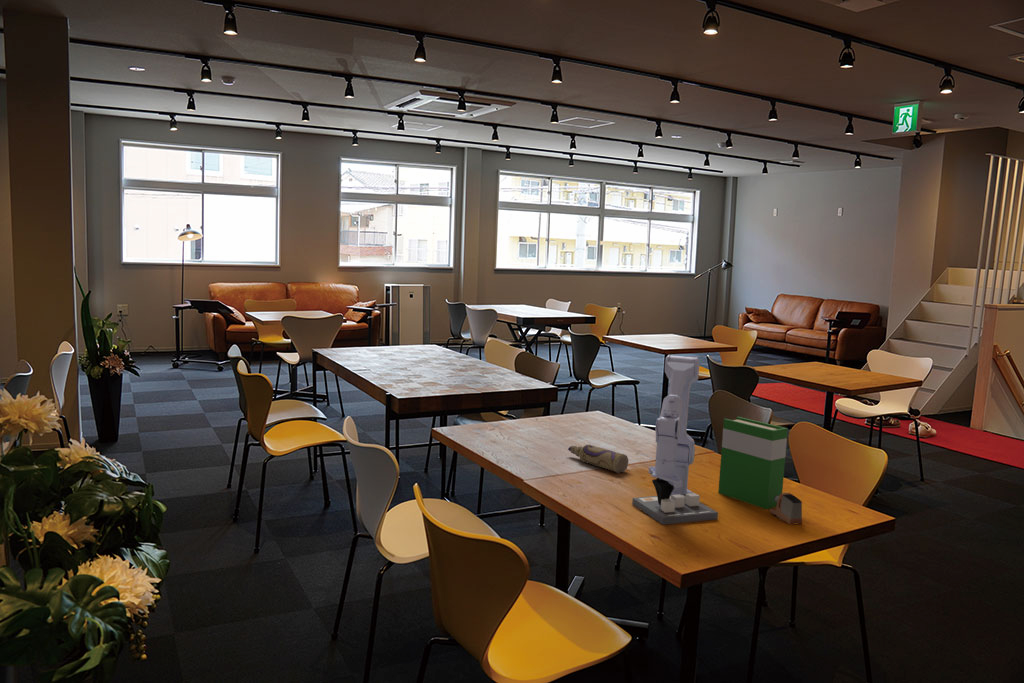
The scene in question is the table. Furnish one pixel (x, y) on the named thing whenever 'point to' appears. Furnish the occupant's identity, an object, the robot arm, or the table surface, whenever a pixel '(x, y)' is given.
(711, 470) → the table surface
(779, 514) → the electronic device
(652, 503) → the switch board
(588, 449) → the decorative bottle
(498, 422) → the table surface
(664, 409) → the robot arm
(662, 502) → the tab
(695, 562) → the table surface
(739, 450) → the hardback book
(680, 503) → the tab middle
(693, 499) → the tab
